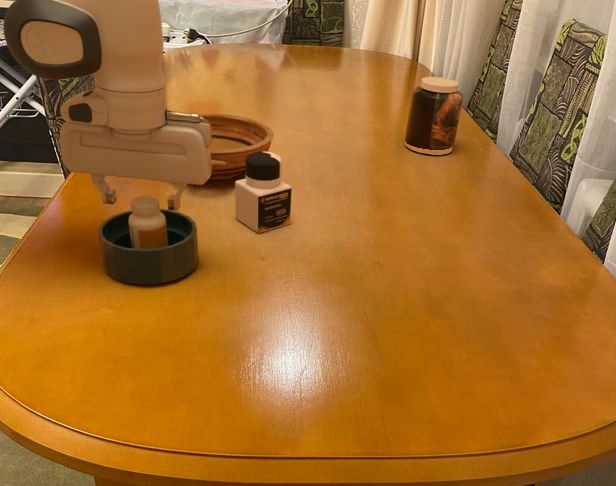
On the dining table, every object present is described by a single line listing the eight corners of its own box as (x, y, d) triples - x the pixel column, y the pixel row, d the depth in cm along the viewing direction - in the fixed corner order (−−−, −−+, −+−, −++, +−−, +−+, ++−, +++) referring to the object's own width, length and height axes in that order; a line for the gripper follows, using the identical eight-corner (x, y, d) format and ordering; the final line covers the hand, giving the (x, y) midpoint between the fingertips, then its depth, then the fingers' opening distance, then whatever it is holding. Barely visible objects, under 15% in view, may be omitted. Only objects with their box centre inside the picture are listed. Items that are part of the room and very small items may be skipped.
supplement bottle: (176, 258, 94) (171, 199, 88) (153, 272, 90) (146, 212, 85) (150, 248, 96) (144, 190, 90) (126, 262, 93) (117, 202, 87)
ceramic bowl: (169, 143, 138) (166, 106, 133) (275, 149, 139) (276, 113, 134) (141, 194, 114) (136, 152, 109) (269, 201, 115) (270, 159, 110)
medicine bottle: (258, 234, 104) (258, 165, 97) (234, 219, 108) (233, 152, 101) (290, 224, 108) (293, 157, 100) (267, 210, 112) (268, 145, 105)
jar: (399, 151, 142) (409, 83, 133) (408, 136, 151) (418, 72, 142) (449, 159, 140) (462, 90, 131) (456, 144, 149) (469, 79, 140)
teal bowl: (90, 283, 88) (83, 246, 85) (121, 239, 100) (116, 205, 96) (187, 291, 88) (184, 254, 84) (206, 246, 99) (204, 212, 96)
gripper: (215, 108, 82) (217, 204, 90) (66, 93, 82) (81, 190, 91) (206, 122, 77) (208, 222, 85) (47, 106, 77) (65, 207, 86)
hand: (142, 205), depth 88 cm, fingers open, 8 cm apart
